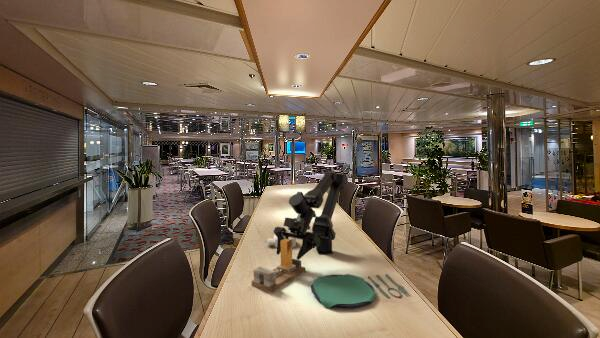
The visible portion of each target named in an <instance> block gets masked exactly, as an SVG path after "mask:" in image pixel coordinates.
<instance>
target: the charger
mask: <svg viewBox="0 0 600 338" xmlns="http://www.w3.org/2000/svg"><path fill="white" fill-rule="evenodd" d="M272 237H273V238H270V237H269V238H267V239H266V240H263V241H262V242H263V243H265V244H266V243H267V245H274V247H275V248H276V249H277V244H278V238H277V236H276V235H275V234H274V235H272ZM288 239H291V240H292V248H293V247H295V248H296V246H297V245H296V244H297V243H296V241H297V240H296V238H291V237H289V238H288Z"/></svg>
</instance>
